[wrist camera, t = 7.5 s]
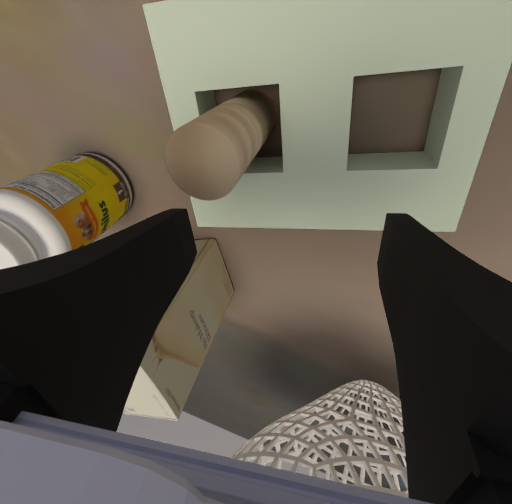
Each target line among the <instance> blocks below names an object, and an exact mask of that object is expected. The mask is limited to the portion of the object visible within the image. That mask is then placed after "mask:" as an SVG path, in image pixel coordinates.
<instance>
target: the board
mask: <svg viewBox="0 0 512 504" xmlns="http://www.w3.org/2000/svg"><path fill="white" fill-rule="evenodd" d="M143 9H144V13H145V17H146V21H147V25H148V29H149V33H150V37H151V41H152V45H153V49H154V53H155V57H156V61H157V65H158V69H159V73H160V77H161V81H162V85H163V89H164V93H165V97H166V101H167V105H168V110H169V114H170V118H171V122H172V126H173V130H174V131H175V130H176V129H178V128H179V127H181V126H183V125H184V124H186V123H188V122H190V121H191V120H193V119H195V118H197V117H199V116H200V115H202V114H204V113H206V112H208V111H209V110H211V109H213V108H215V107H216V106H217V105H216V99H215V93H214V90H217V89H228V88H238V87H249V86H259V85H269V84H279V94H280V114H281V134H282V153H283V157H257V158H254V159H253V160H252V162H251V163H250V165H249V166H248V168H247V169H246V170H245V172H244V173H243V175H242V176H241V178H240V179H239V181H238V182H237V184H236V185H235V187H234V188H233V189H232V191H231V192H230V193H229V194H227V195H226V196H224V197H223V198H220V199H217V200H211V201H207V200H200V199H197V198H194V197H192V196H190V198H191V202H192V206H193V210H194V214H195V218H196V222H197V226H198V227H241V228H290V229H340V230H384V224H385V219H386V213H407V214H409V215H410V216H412V217H413V218H414V219H416V220H417V221H418V222H420V223H421V224H422V225H423V226H425V227H426V228H427V229H429V230H430V231H438V232H455V231H456V228H457V225H458V222H459V219H460V216H461V213H462V210H463V207H464V204H465V201H466V198H467V195H468V192H469V189H470V186H471V183H472V180H473V177H474V174H475V171H476V168H477V165H478V162H479V159H480V156H481V153H482V150H483V147H484V144H485V141H486V138H487V135H488V132H489V129H490V126H491V123H492V120H493V117H494V114H495V111H496V108H497V105H498V102H499V99H500V96H501V93H502V90H503V87H504V84H505V81H506V78H507V75H508V72H509V69H510V66H511V63H512V0H166V1H161V2H155V3H149V4H144V5H143ZM435 68H442V69H441V74H440V79H439V83H438V88H437V92H436V97H435V101H434V106H433V110H432V115H431V120H430V124H429V129H428V133H427V138H426V142H425V147H424V151H417V152H390V153H364V154H348V145H349V131H350V118H351V105H352V91H353V78H354V76H363V75H373V74H383V73H394V72H404V71H415V70H425V69H435Z"/></svg>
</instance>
